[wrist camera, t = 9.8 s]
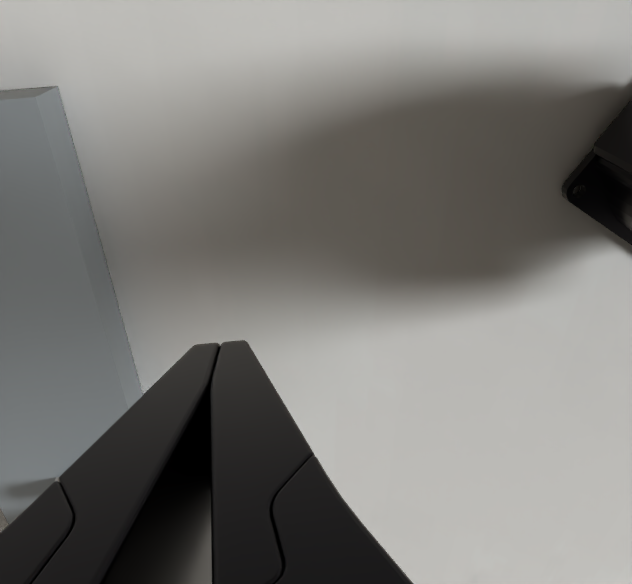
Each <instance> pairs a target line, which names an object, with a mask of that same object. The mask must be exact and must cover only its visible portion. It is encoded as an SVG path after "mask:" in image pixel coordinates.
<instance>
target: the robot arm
mask: <svg viewBox="0 0 632 584" xmlns="http://www.w3.org/2000/svg"><path fill="white" fill-rule="evenodd" d="M579 185H581V189H580V191H579V192H578V193H576V194H573V190H574V188H575V187H577V186H579ZM562 195H563V197H564V198H565V199H566V200H568V201H569V202H571V203H572V204H573V205H575V206H576V207H578V208H579V209H581V210H582V211H583V212H585V213H586V214H588V215H589V216H591V217H592V218H594V219H595V220H596V221H598V222H599V223H601V224H602V225H604V226H605V227H606V228H608V229H609V230H611V231H612V232H614V233H615V234H617V235H618V236H619V237H621V238H622V239H624V240H625V241H627V242H628V243H630V244H631V245H632V100H631V101H630V102H629V103H628V105H627V106H626V107H625V108H624V109H623V111H622V112H621V113H620V114H619V115H618V117H617V118H616V119H615V120H614V121H613V122H612V124H611V125H610V126H609V127H608V128H607V130H606V131H605V132H604V133H603V134H602V135H601V137H600V138H599V139H598V140H597V141H596V143H595V145H594V148H593V150H592V151H591V152H590V153H589V154H588V155H587V157H586V158H585V159H584V160H583V161H582V162H581V164H580V165H579V166H578V167H577V168H576V170H575V171H574V172H573V173H572V174H571V175H570V177H569V178H568V179H567V180H566V181H565V183H564V185H563V186H562ZM58 480H59V482H58V481H55V482H53V483H52V484H51V485H50V486H49V487H48V488H47V489H46V490H45V491H44V492H43V493H42V494H41V495H40V496H39V497H38V498H37V499H36V500H35V501H34V502H33V503H31V504H30V505H29V506H28V507H27V508H26V509H25V510H24V511H23V512H22V513H21V514H20V515H19V516H18V517H16V518H15V519H14V520H13V521H12V522H11V523H10V524H9V525H8V526H7V527H6V528H5V529H4V530H2V531H1V532H0V584H413V583H412V582H411V580H410V579H409V578H408V577H407V576H406V574H405V573H404V572H403V571H402V570H401V569H400V567H399V566H398V565H397V564H396V563H395V561H394V560H393V559H392V558H391V557H390V556H389V554H388V553H387V552H386V551H385V550H384V548H383V547H382V546H381V545H380V544H379V543H378V541H377V540H376V539H375V538H374V537H373V535H372V534H371V533H370V532H369V531H368V530H367V528H366V527H365V526H364V525H363V524H362V522H361V521H360V520H359V519H358V517H357V516H356V515H355V513H354V512H353V511H352V510H351V508H350V507H349V506H348V504H347V503H346V502H345V501H344V499H343V498H342V497H341V495H340V494H339V492H338V491H337V489H336V488H335V486H334V485H333V483H332V482H331V480H330V478H329V477H328V475H327V474H326V472H325V471H324V469H323V467H322V466H321V464H320V462H319V461H318V459H317V458H316V457H315V455H314V453H313V451H312V449H311V448H310V446H309V444H308V443H307V441H306V439H305V438H304V436H303V434H302V433H301V431H300V429H299V428H298V426H297V424H296V423H295V421H294V419H293V418H292V416H291V414H290V413H289V411H288V409H287V408H286V406H285V404H284V403H283V401H282V399H281V398H280V396H279V394H278V393H277V391H276V389H275V388H274V386H273V384H272V383H271V381H270V379H269V378H268V376H267V374H266V373H265V371H264V369H263V368H262V366H261V364H260V363H259V361H258V359H257V358H256V356H255V354H254V353H253V351H252V349H251V348H250V346H249V344H248V343H247V342H246V341H244V340H241V341H230V342H224V343H222V344H221V346H220V344H218V343H209V344H197V345H194V346H193V347H192V348H191V349H190V350H189V351H188V352H187V353H186V354H185V355H184V356H183V357H182V358H181V359H180V360H179V361H177V362H176V363H175V364H174V365H173V366H172V367H171V368H170V369H169V370H168V371H167V372H166V373H165V374H164V375H163V376H162V377H161V378H160V379H159V380H158V381H157V382H156V383H155V384H154V385H153V386H152V387H151V388H150V389H149V390H148V391H147V392H146V393H145V394H144V395H143V396H142V397H141V398H140V399H139V400H138V401H136V402H135V403H134V404H133V405H132V406H131V407H130V408H129V409H128V410H127V411H126V412H125V413H124V414H123V415H122V416H121V417H120V418H119V419H118V420H117V421H116V422H115V423H114V424H113V425H112V426H111V427H110V428H109V429H108V430H107V431H106V432H105V433H104V434H103V435H102V436H101V437H100V438H99V439H98V440H97V441H95V442H94V443H93V444H92V445H91V446H90V447H89V448H88V449H87V450H86V451H85V452H84V453H83V454H82V455H81V456H80V457H79V458H78V459H77V460H76V461H75V462H74V463H73V464H72V465H71V466H70V467H69V468H68V469H67V470H66V471H65V472H64V473H63V474H62V475H61V476H60V477H59V479H58Z"/></svg>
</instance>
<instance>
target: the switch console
mask: <svg viewBox="0 0 632 584" xmlns="http://www.w3.org/2000/svg"><path fill="white" fill-rule="evenodd" d="M142 396H143V393H142V390H141V386H140V382H139V379H138V375H137V372H136V368H135V364H134V361H133V357H132V354H131V350H130V346H129V343H128V339H127V335H126V332H125V328H124V325H123V321H122V317H121V314H120V310H119V307H118V303H117V299H116V296H115V292H114V288H113V285H112V281H111V278H110V274H109V270H108V267H107V263H106V260H105V256H104V252H103V249H102V245H101V241H100V238H99V234H98V231H97V227H96V223H95V220H94V216H93V213H92V209H91V205H90V202H89V198H88V194H87V191H86V187H85V184H84V180H83V176H82V173H81V169H80V166H79V162H78V158H77V155H76V151H75V147H74V144H73V140H72V137H71V133H70V129H69V126H68V122H67V119H66V115H65V111H64V108H63V104H62V100H61V97H60V93H59V90H58V86H56V87H43V88H30V89H18V90H5V91H0V508H1V510H2V512H3V514H4V516H5V518H6V520H7V522H8V524H10V523H11V522H12V521H13V520H14V519H15V518H16V517H18V516H19V515H20V514H21V513H22V512H23V511H24V510H25V509H26V508H27V507H28V506H29V505H30V504H31V503H33V502H34V501H35V500H36V499H37V498H38V497H39V496H40V495H41V494H42V493H43V492H44V491H45V490H46V489H47V488H48V487H49V486H50V485H51V484H52V483H53V482H55V481H58V482H59V480H58V479H59V477H60V476H61V475H62V474H63V473H64V472H65V471H66V470H67V469H68V468H69V467H70V466H71V465H72V464H73V463H74V462H75V461H76V460H77V459H78V458H79V457H80V456H81V455H82V454H83V453H84V452H85V451H86V450H87V449H88V448H89V447H90V446H91V445H92V444H93V443H94V442H95V441H97V440H98V439H99V438H100V437H101V436H102V435H103V434H104V433H105V432H106V431H107V430H108V429H109V428H110V427H111V426H112V425H113V424H114V423H115V422H116V421H117V420H118V419H119V418H120V417H121V416H122V415H123V414H124V413H125V412H126V411H127V410H128V409H129V408H130V407H131V406H132V405H133V404H134V403H135V402H136V401H138V400H139V399H140V398H141V397H142Z"/></svg>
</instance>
